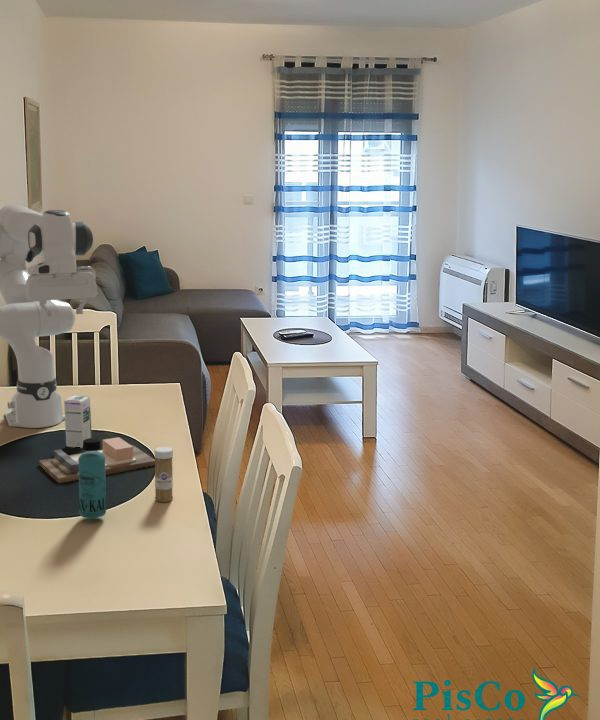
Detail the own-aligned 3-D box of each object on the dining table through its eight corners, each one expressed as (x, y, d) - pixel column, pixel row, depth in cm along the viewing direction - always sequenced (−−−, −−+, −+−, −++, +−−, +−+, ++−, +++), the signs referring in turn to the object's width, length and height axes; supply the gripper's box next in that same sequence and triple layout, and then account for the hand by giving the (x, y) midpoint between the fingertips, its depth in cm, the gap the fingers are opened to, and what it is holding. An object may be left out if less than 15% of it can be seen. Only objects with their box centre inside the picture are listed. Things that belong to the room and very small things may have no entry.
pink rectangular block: (93, 453, 258) (92, 440, 257) (119, 449, 262) (119, 435, 261) (109, 466, 248) (109, 452, 247) (136, 461, 253) (136, 447, 252)
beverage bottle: (81, 514, 219) (78, 435, 215) (109, 513, 220) (107, 435, 215) (77, 524, 213) (74, 443, 209) (105, 524, 214) (103, 443, 209)
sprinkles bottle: (157, 503, 227) (157, 452, 224) (152, 497, 231) (152, 447, 228) (175, 501, 229) (175, 450, 226) (170, 495, 233) (169, 445, 230)
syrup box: (84, 448, 267) (82, 401, 264) (65, 446, 268) (63, 399, 265) (92, 442, 272) (90, 396, 269) (73, 441, 273) (72, 394, 270)
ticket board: (39, 465, 252) (38, 451, 251) (132, 449, 267) (132, 436, 266) (58, 483, 239) (58, 469, 238) (156, 465, 254) (155, 451, 253)
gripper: (91, 265, 268) (94, 312, 270) (22, 268, 257) (25, 317, 258) (99, 265, 263) (102, 313, 264) (28, 268, 251) (32, 318, 253)
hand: (63, 315), depth 261 cm, fingers open, 8 cm apart
